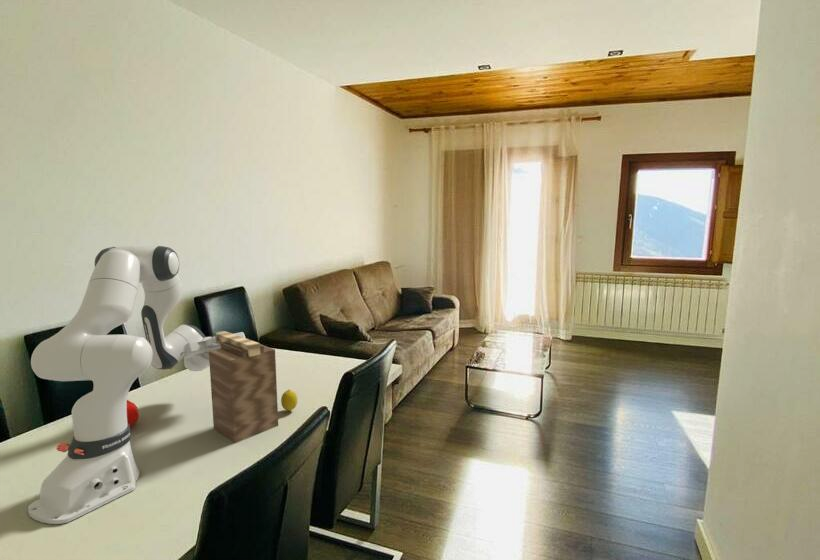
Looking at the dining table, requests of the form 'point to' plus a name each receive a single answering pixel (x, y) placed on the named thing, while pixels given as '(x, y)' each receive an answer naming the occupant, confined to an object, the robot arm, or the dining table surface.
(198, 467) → the dining table surface
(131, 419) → the tomato
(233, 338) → the oak bar
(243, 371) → the walnut mount
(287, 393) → the lemon
